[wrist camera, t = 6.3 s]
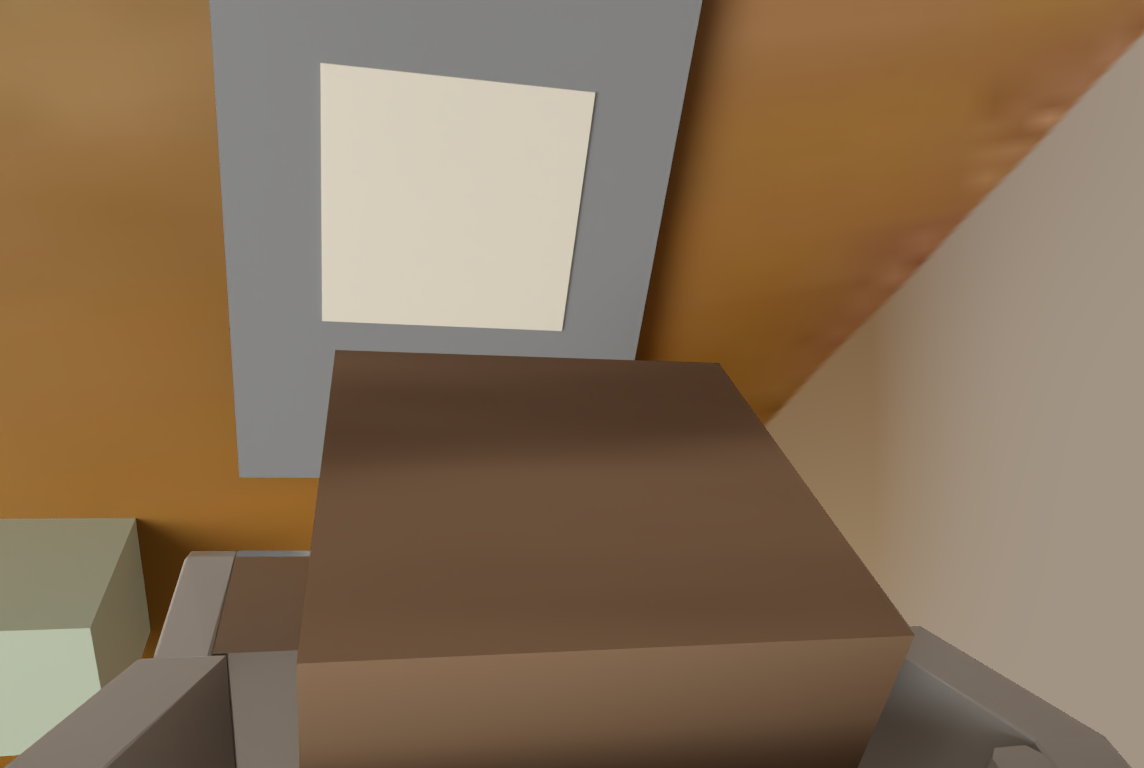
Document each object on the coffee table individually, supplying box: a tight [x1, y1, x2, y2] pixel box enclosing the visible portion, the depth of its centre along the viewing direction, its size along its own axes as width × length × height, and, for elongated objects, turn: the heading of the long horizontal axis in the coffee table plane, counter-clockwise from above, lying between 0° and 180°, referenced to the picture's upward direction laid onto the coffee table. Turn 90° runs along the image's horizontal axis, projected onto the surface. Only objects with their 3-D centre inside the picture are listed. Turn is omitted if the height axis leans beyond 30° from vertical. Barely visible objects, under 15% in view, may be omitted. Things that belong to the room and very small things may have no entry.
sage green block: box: [0, 518, 151, 756], centre depth 26 cm, size 5×5×5 cm
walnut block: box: [296, 350, 915, 768], centre depth 10 cm, size 5×5×5 cm
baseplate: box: [209, 0, 702, 478], centre depth 24 cm, size 18×12×1 cm, turn 172°
